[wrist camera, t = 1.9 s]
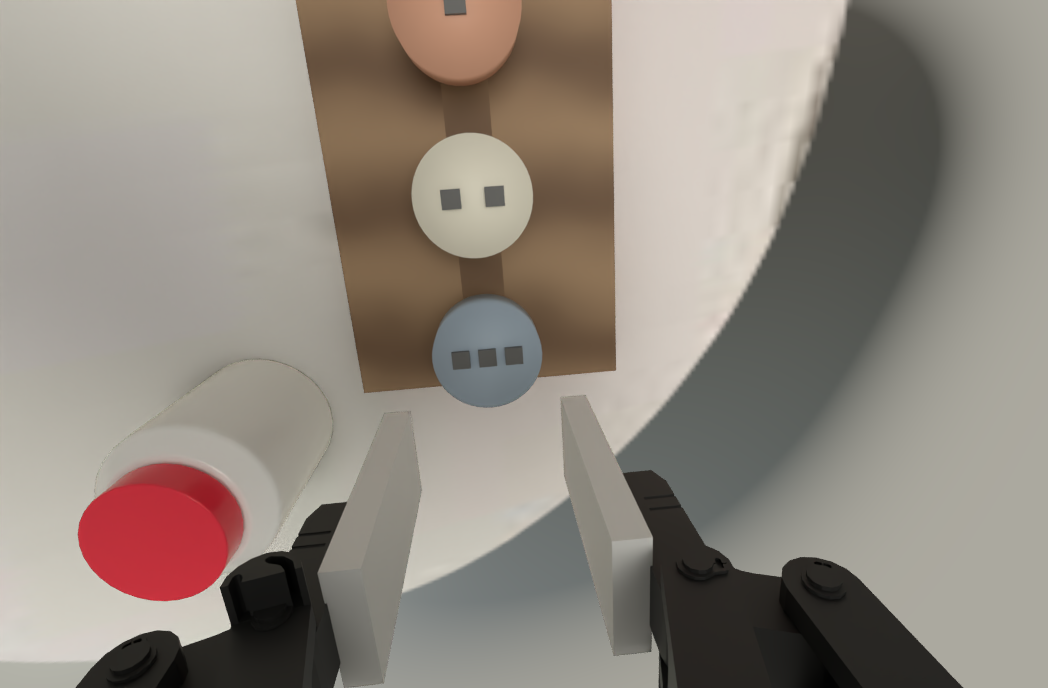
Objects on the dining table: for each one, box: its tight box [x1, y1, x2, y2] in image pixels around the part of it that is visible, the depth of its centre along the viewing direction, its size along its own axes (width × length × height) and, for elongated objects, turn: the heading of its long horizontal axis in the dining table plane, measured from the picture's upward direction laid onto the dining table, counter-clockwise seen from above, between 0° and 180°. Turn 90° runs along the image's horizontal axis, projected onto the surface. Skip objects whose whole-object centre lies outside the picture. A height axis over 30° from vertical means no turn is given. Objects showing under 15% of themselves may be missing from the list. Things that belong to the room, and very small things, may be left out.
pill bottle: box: [78, 359, 333, 601], centre depth 25 cm, size 8×8×11 cm
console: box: [296, 0, 616, 393], centre depth 27 cm, size 20×14×2 cm
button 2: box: [412, 133, 533, 258], centre depth 23 cm, size 5×5×4 cm
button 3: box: [432, 294, 542, 407], centre depth 25 cm, size 5×5×4 cm
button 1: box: [387, 0, 522, 86], centre depth 21 cm, size 5×5×4 cm
